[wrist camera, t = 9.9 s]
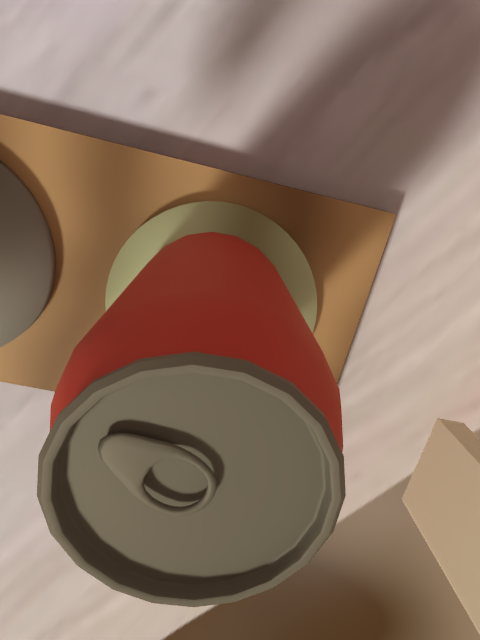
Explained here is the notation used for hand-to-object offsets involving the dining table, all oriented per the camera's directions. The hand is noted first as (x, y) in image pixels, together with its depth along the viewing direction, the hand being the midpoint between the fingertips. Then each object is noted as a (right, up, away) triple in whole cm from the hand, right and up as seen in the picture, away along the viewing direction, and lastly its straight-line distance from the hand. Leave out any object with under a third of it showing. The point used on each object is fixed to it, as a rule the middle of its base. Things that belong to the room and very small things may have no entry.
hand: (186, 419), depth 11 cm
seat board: (-6, +5, +9) cm, 12 cm away
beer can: (0, +3, +8) cm, 9 cm away
